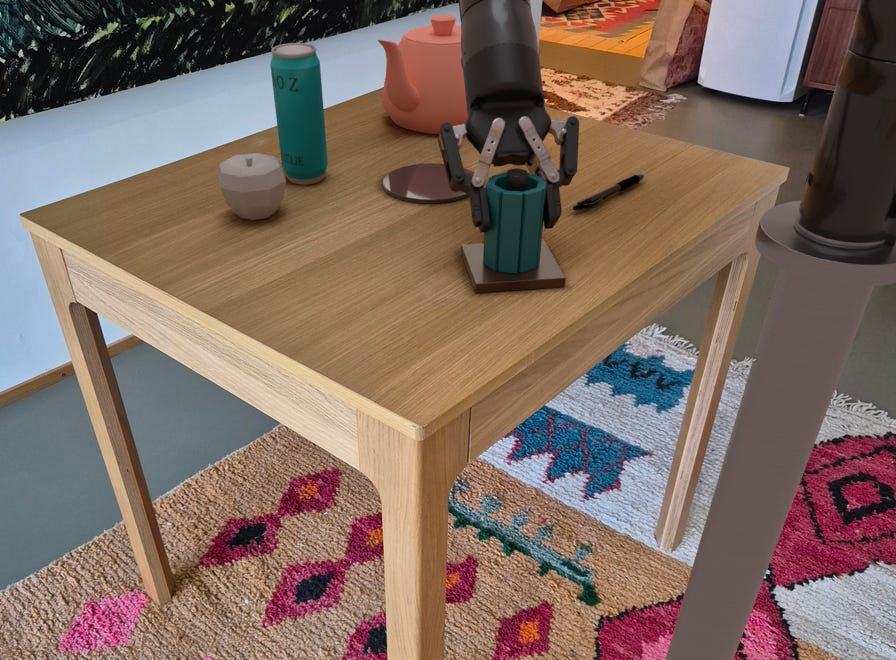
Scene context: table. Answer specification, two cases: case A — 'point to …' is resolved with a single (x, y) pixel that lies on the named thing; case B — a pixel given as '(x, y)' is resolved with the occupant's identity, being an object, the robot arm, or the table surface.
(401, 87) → the teapot
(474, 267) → the holder
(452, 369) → the table surface
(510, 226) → the teal octagonal tube
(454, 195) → the slate coaster
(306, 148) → the beverage can
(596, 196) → the pen
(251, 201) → the apple
